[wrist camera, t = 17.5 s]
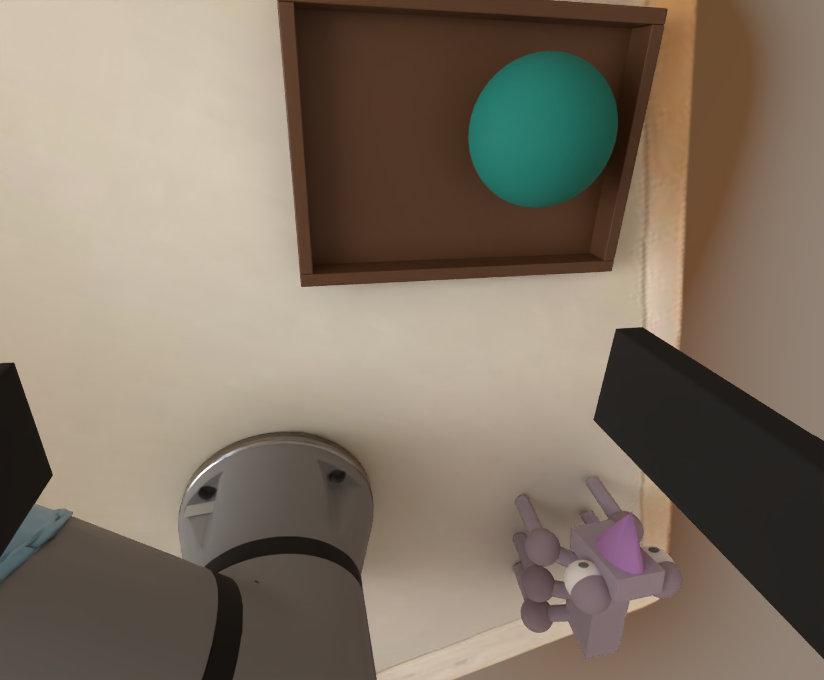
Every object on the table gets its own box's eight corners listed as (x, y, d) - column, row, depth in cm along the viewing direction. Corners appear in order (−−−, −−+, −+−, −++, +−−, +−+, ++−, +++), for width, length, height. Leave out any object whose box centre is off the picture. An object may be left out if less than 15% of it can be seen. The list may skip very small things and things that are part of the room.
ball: (510, 214, 33) (636, 194, 29) (452, 220, 27) (600, 196, 22) (498, 89, 32) (628, 46, 27) (432, 66, 26) (587, 4, 21)
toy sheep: (501, 426, 42) (582, 556, 30) (613, 404, 44) (731, 519, 32) (498, 577, 51) (559, 722, 40) (591, 555, 53) (676, 687, 41)
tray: (592, 260, 37) (611, 271, 34) (301, 273, 33) (301, 287, 30) (640, 14, 30) (668, 8, 28) (277, -10, 26) (275, -20, 23)
